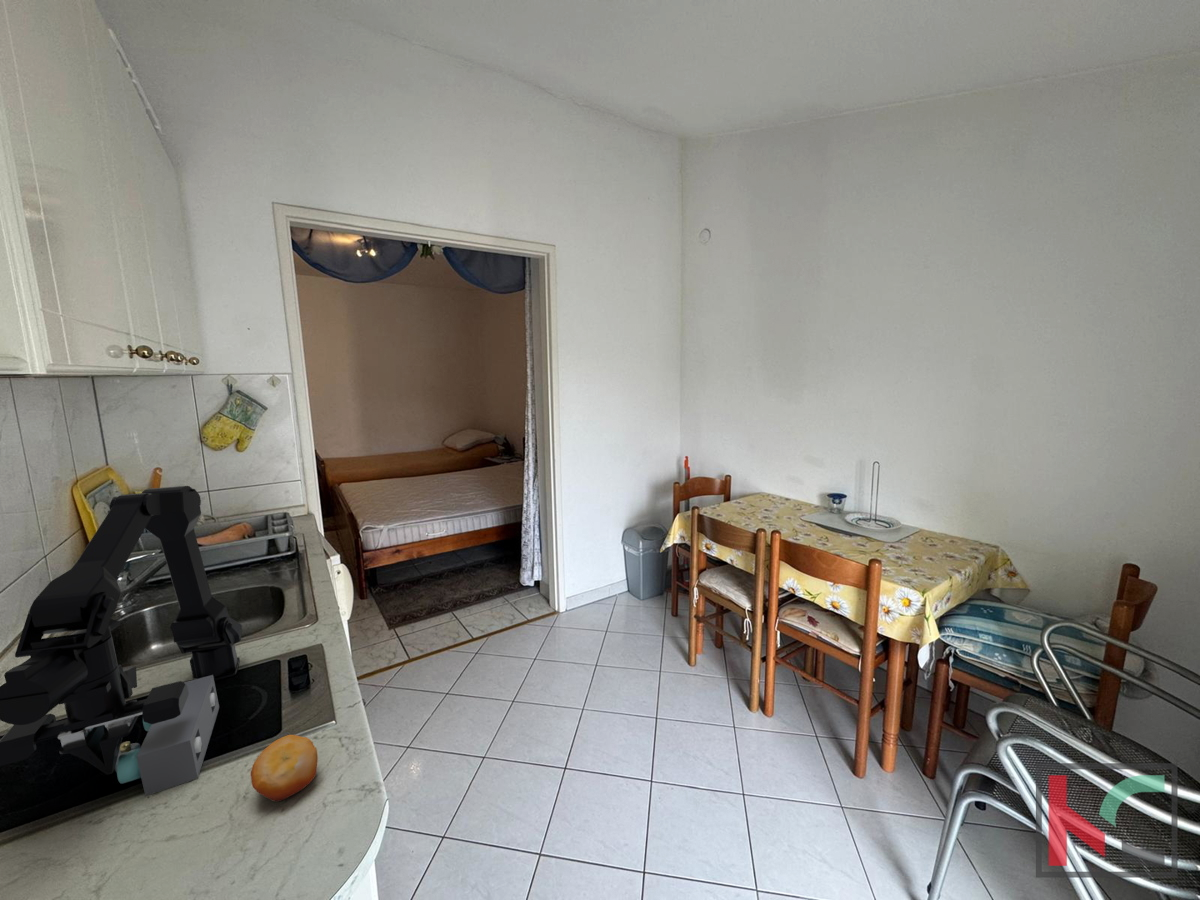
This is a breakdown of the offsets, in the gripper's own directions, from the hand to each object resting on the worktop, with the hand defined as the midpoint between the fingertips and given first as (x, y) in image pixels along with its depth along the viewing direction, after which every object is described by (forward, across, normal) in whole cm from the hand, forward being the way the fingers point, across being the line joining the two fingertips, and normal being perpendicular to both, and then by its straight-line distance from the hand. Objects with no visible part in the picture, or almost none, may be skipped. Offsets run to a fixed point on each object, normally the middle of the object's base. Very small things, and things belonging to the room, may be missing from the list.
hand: (111, 771), depth 72 cm
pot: (+4, 0, -6) cm, 7 cm away
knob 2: (+2, -6, 0) cm, 6 cm away
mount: (+3, -7, -6) cm, 10 cm away
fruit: (+3, -22, +12) cm, 25 cm away
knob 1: (+2, -6, -12) cm, 13 cm away
